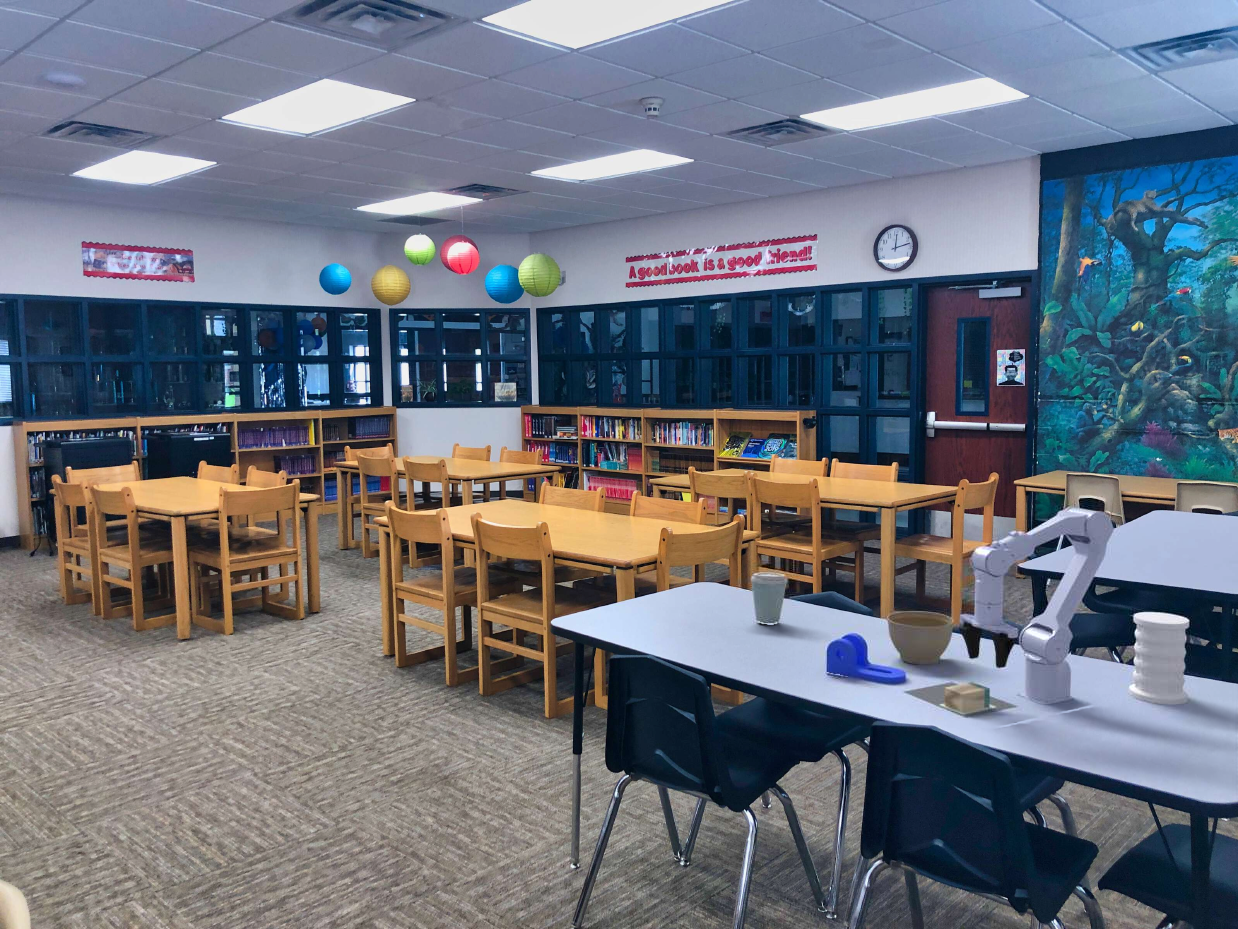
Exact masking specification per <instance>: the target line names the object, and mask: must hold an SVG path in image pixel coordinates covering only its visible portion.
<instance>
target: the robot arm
mask: <svg viewBox="0 0 1238 929" xmlns="http://www.w3.org/2000/svg"><path fill="white" fill-rule="evenodd" d="M1114 530H1115V529H1114V526H1113V523H1112V520H1111V517H1110V516H1109V514H1108V513H1106V512H1105V511H1100V510H1099V511H1097V510H1093V509H1092V510H1091V509H1085V508H1080V507H1077V506H1068V507H1067V508H1065V509H1062V510H1059V511H1058V512H1057V513H1056V515H1055V516H1053V517H1052V518H1049V520H1047V521H1045V522H1043V523H1042V524H1040V525H1038V526H1037V527H1034V528H1033V529H1032V530H1029V531H1028V532H1024V531H1021V530H1020V531H1015V530H1012V531H1010V532H1009V535H1007V536H1006V537H1005V538H1004V537H1003V538H1002V539H1000V540H998V541H997V540H995V541H992V542H991V545H989V546H988V545H982V546H978V547H977V548H976V549H975V550H974V551H973V553H972V554H971V557H970V558H969V564H970V566H971V567H972V569H973V574H974V575H973V576H974V577H975V578H974V579H975V580H974V581H975V582H974V615H973V614H967V613H963V614H960V615H959V624H962V626H959V628H958V631H959V632H960V633H961V636H962V637H963V640H964V643H965V645H966V649H967V653H968V657H969V659H971V660H973V659H978V658H979V655H980V646H981V645H980V643H981V639H982V634H983V631H984V630H986V631H990V632H993V633H995V634H997V635H992V636H991V639H992V642H993V645H994V650H995V666H996V667H995V668H996V669H997V668H998V669H1001V668H1006V666H1007V663H1008V659H1009V657H1010V653H1011V652H1012V649H1013V648H1014V645H1015V644H1016V642H1017V641H1018V643H1019V647H1020V648H1021V649H1022V650H1023V651H1024V652H1023V654H1024V656H1025V673H1024V674H1025V678H1024V679H1025V680H1024V691H1020V692H1016V693H1015V695H1016V696H1019V697H1021V698H1024V699H1027V700H1030V701H1033V702H1036V703H1038V704H1041V705H1045V706H1047V705H1051V704H1055V703H1059V702H1063V701H1068V700H1073V699H1074V697H1073V696H1072V695H1071V683H1072V682H1071V681H1072V680H1071V679H1072V678H1071V677H1072V670H1071V666H1070V664H1069V663H1068V661H1067V660H1066V658H1067V656H1068V655H1069V652H1070V644H1071V641H1072V639H1073V638H1074V637H1073V636H1074V635H1073V633H1072V631H1071V629H1070V626H1069V624H1070V622H1071V621H1072V619H1073V617H1074V615H1075V613H1076V611H1077V609H1078V608H1079V606H1080V604H1081V602H1082V600H1083V598H1084V596H1085V594H1086V592H1087V590H1088V588H1089V587H1090V586H1091V583H1092V581H1093V579H1094V578H1095V575H1096V574H1097V572H1098V570H1099V569H1100V567H1101V564H1102V562H1103V560H1104V558H1105V556H1106V552H1107V546H1108V542H1109V540H1110V539H1111V536H1112V534H1113V533H1114ZM1063 535H1065V536H1066V538H1067V539H1068V541H1069V542H1070V543H1071V545H1072V547H1073V548H1074V551H1075V554H1074V556H1073V558H1072V560H1071V561H1070V563H1069V565H1068V567H1067V569H1066V570H1065V573H1064V575H1063V576H1062V578H1061V580H1060V582H1059V584H1058V586H1057V587H1056V589H1055V591H1054V593H1053V594H1052V598H1051V599H1050V601H1049V602H1048V604H1047V606H1046V609H1045V610H1044V612H1043V613H1042V614H1040V615H1037V616H1035V617H1033V618H1032V619H1031V621H1030V623H1028V625H1026V627H1024V628H1023V629H1022V630H1021V631H1020V634H1019V628H1018V627H1014V626H1012V625H1010V624H1009V623H1006V622H1004V621H1003V606H1004V605H1003V604H1004V603H1003V602H1004V575H1006V574H1007V573H1008V571H1009V570H1010V568H1011V566H1012V565H1014V564H1016V563H1019V562H1020V561H1022V560H1024V559H1026V558H1028V557H1029V556H1032V555H1033V554H1034V551H1035V548H1036V547H1039V546H1041V545H1042V544H1045V543H1047V542H1049V541H1051V540H1054V539H1057V538H1059V537H1061V536H1063ZM998 634H999V635H998Z"/></svg>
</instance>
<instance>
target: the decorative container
mask: <svg viewBox="0 0 1238 929" xmlns="http://www.w3.org/2000/svg"><path fill="white" fill-rule="evenodd" d="M1133 623H1135V624H1136V629H1135V631H1134V637H1135V639H1136V640H1135V644H1134V645H1133V646H1134V647H1133V648H1134V652H1135V656H1134V658H1133V665H1134V666H1135V668H1134V670H1133V673H1132V676H1133V679H1134V683H1132V684H1131V685H1129V687H1128V694H1129V696H1130V697H1132V696H1133V698H1134V699H1136V698H1137V700H1138V701H1142V700H1143V701H1142V702H1145V701H1146V703H1150V702H1152V703H1151V704H1155V703H1158V704H1157V705H1163V704H1164V706H1165V705H1166V706H1178V705H1177V704H1179V705H1184V704H1186V703H1187V702H1188V701H1189V700H1188V696H1189V694H1188V692H1186V691H1185V690H1183V689H1184V685H1185V682H1186V680H1185V676H1184V672H1185V670H1186V663H1185V657H1186V655H1187V651H1186V648H1185V647H1186V646H1185V644H1186V642H1187V635H1186V630H1187V629H1188V628H1190V619H1188V618H1187V617H1185V616H1183V615H1182V616H1181V615H1177V614H1173V613H1166V612H1159V611H1158V612H1155V611H1143V612H1137V613H1134V614H1133ZM1187 700H1188V701H1187ZM1183 703H1184V704H1183Z"/></svg>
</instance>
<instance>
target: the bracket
mask: <svg viewBox="0 0 1238 929" xmlns="http://www.w3.org/2000/svg"><path fill="white" fill-rule="evenodd" d="M868 650H869V648H868V644H867V642H866V640H865V638H864V637H863V636H862V635H860V634H858V633H855V632H851V633H848V634H845V635H843V636H841V638H837V639H835V640H833V641H831V642H830V643H829V644H828V645H827V649H826V672H829V673H833V674H840V675H843V676H848V677H847V678H849V677H850V678H854V679H858V680H859V679H861V680H866V681H870V682H876V683H880V684H889V685H894V684H895V685H896V684H902V683H904V682H906V681H907V680H906V678H907V677H906V676H907V675H906V674H907V673H906V671H904V670H903V669H900V668H896V667H893V666H891V667H890V666H886V665H881V664H875V663H871V662H870V661H869V660H868V658H869V656H868V652H869V651H868ZM826 672H825V673H826Z"/></svg>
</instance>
